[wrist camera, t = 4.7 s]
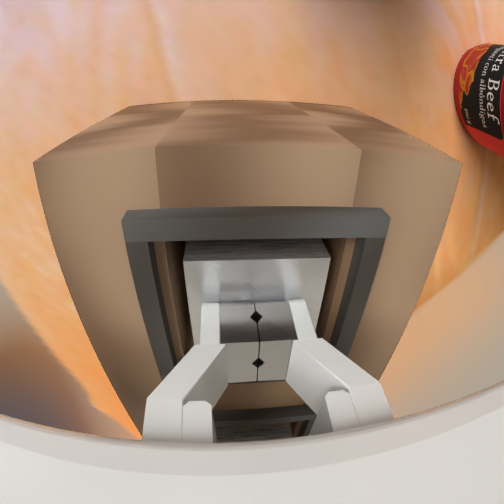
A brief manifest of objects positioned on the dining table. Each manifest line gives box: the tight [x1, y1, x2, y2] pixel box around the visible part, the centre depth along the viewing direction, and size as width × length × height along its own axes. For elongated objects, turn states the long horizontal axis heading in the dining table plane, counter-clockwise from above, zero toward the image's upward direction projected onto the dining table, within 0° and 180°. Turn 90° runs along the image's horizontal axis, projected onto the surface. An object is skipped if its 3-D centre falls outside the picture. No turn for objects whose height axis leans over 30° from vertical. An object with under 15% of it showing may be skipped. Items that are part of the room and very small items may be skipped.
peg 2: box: [215, 422, 293, 443], centre depth 15 cm, size 4×4×9 cm
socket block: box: [33, 100, 462, 438], centre depth 17 cm, size 12×20×11 cm, turn 179°
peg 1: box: [183, 238, 331, 345], centre depth 13 cm, size 4×4×9 cm
